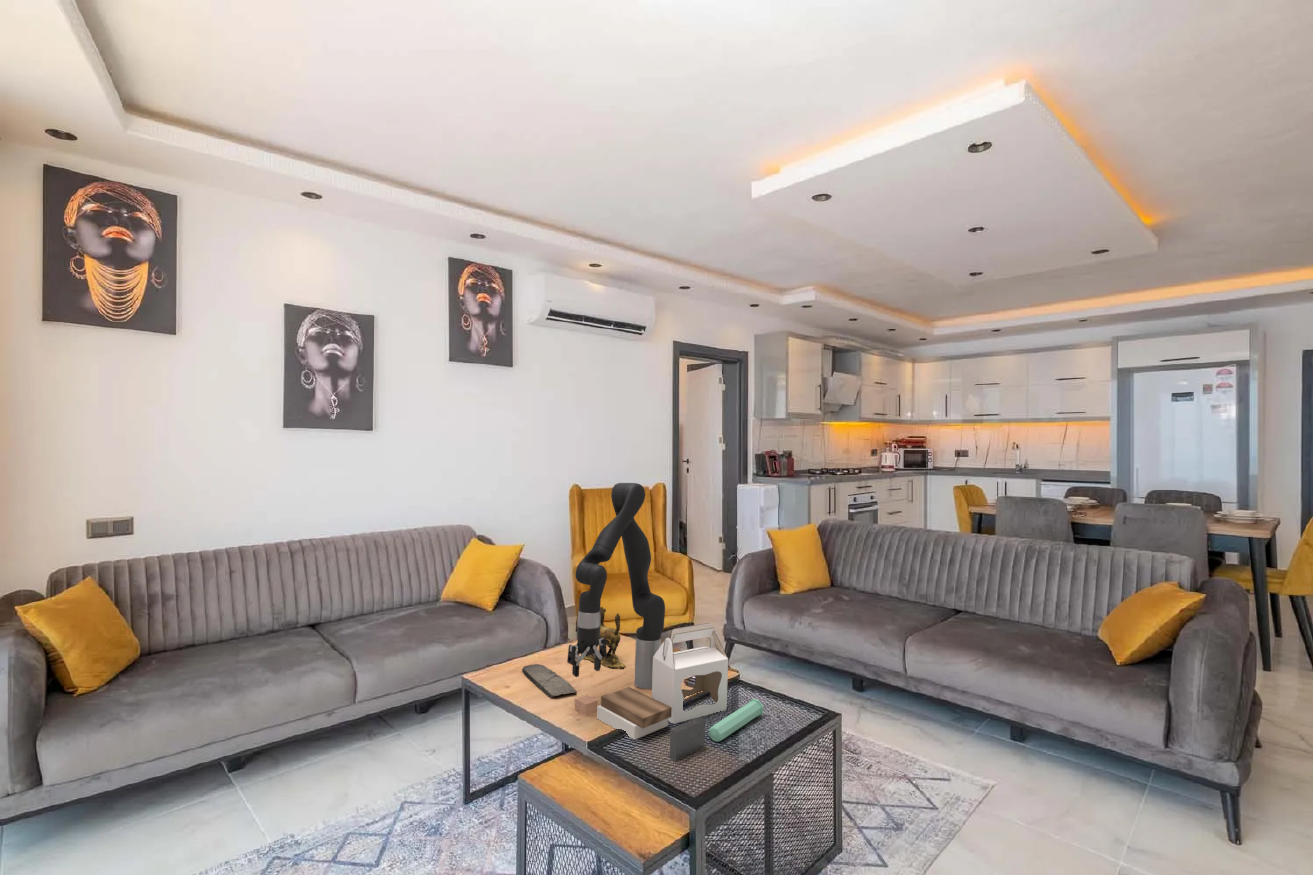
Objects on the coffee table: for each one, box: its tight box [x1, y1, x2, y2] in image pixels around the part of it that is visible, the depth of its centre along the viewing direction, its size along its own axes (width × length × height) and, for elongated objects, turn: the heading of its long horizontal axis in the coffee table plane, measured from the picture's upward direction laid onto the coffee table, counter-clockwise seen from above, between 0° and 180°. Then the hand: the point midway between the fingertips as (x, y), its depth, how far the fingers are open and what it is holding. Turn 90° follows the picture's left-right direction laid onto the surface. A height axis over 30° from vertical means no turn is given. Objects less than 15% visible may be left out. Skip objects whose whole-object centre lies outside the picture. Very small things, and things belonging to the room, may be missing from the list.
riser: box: [596, 704, 669, 740], centre depth 198 cm, size 14×18×4 cm
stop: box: [669, 717, 706, 762], centre depth 181 cm, size 12×2×8 cm, turn 134°
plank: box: [600, 686, 672, 728], centre depth 197 cm, size 12×20×3 cm, turn 44°
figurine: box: [583, 606, 626, 670], centre depth 252 cm, size 13×25×20 cm, turn 41°
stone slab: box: [521, 663, 578, 700], centre depth 228 cm, size 10×3×30 cm
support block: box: [574, 694, 599, 716], centre depth 206 cm, size 5×6×4 cm
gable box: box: [651, 622, 729, 725], centre depth 209 cm, size 22×13×28 cm, turn 122°
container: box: [708, 698, 764, 743], centre depth 197 cm, size 6×6×25 cm
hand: (586, 673), depth 206 cm, fingers open, 8 cm apart
